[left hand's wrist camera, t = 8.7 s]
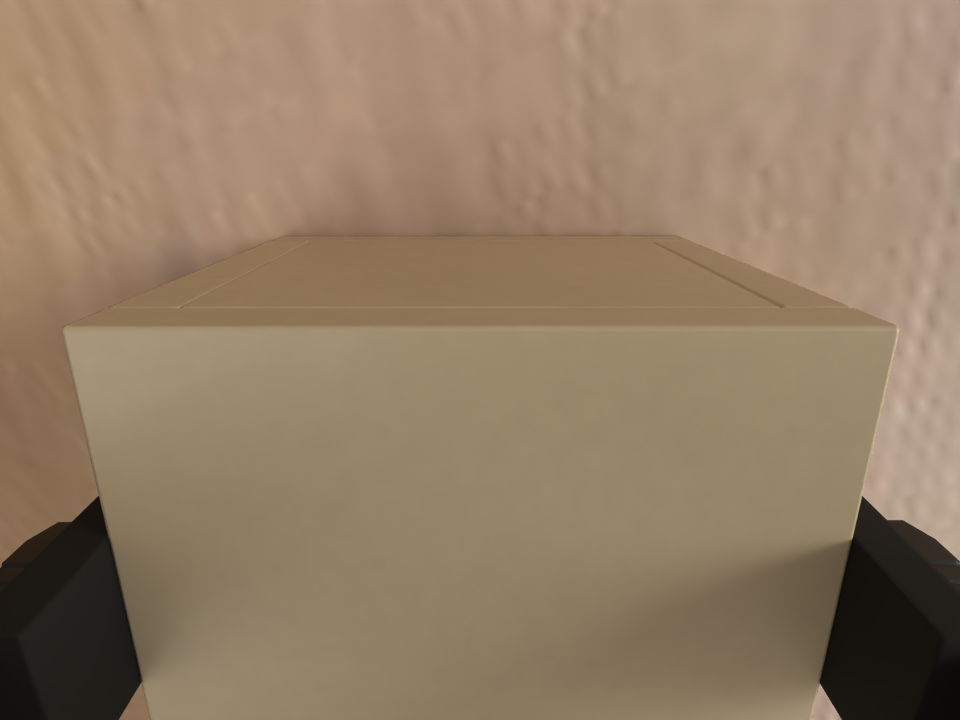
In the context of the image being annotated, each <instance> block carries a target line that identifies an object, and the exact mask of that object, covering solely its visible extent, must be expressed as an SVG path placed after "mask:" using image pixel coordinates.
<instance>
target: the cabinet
mask: <svg viewBox="0 0 960 720" xmlns="http://www.w3.org/2000/svg"><path fill="white" fill-rule="evenodd" d="M62 336H63V340H64V345H65V349H66V353H67V358H68V362H69V367H70V371H71V375H72V380H73V384H74V388H75V393H76V397H77V402H78V406H79V410H80V415H81V419H82V423H83V428H84V432H85V437H86V441H87V445H88V450H89V454H90V458H91V463H92V467H93V472H94V476H95V480H96V485H97V489H98V494H99V498H100V502H101V507H102V511H103V515H104V520H105V524H106V529H107V533H108V537H109V542H110V546H111V550H112V555H113V559H114V564H115V568H116V572H117V577H118V581H119V585H120V590H121V594H122V599H123V603H124V607H125V612H126V616H127V621H128V625H129V629H130V634H131V638H132V642H133V647H134V651H135V656H136V660H137V664H138V669H139V673H140V677H141V682H142V686H143V691H144V695H145V699H146V704H147V708H148V712H149V717H150V720H811V719H812V714H813V710H814V705H815V701H816V697H817V692H818V688H819V683H820V679H821V675H822V670H823V666H824V661H825V657H826V653H827V648H828V644H829V639H830V635H831V631H832V626H833V622H834V617H835V613H836V609H837V604H838V600H839V595H840V591H841V587H842V582H843V578H844V573H845V569H846V565H847V560H848V556H849V551H850V547H851V543H852V538H853V534H854V529H855V525H856V521H857V516H858V512H859V507H860V503H861V499H862V494H863V490H864V485H865V481H866V477H867V472H868V468H869V463H870V459H871V455H872V450H873V446H874V441H875V437H876V433H877V428H878V424H879V419H880V415H881V411H882V406H883V402H884V398H885V393H886V389H887V384H888V380H889V376H890V371H891V367H892V362H893V358H894V354H895V349H896V345H897V340H898V336H899V328H898V326H896V325H893V324H891V323H889V322H886V321H884V320H881V319H879V318H876V317H874V316H872V315H869V314H867V313H864V312H862V311H859V310H857V309H854V308H850V307H849V306H847V305H844V304H842V303H839V302H837V301H834V300H832V299H830V298H827V297H825V296H822V295H820V294H817V293H815V292H813V291H810V290H808V289H805V288H803V287H800V286H798V285H796V284H793V283H791V282H788V281H786V280H783V279H781V278H779V277H776V276H774V275H771V274H769V273H766V272H764V271H762V270H759V269H757V268H754V267H752V266H749V265H747V264H745V263H742V262H740V261H737V260H735V259H732V258H730V257H728V256H725V255H723V254H720V253H718V252H715V251H713V250H711V249H708V248H706V247H703V246H701V245H698V244H696V243H694V242H691V241H689V240H686V239H684V238H681V237H679V236H283V237H280V238H278V239H275V240H273V241H269V242H267V243H264V244H262V245H259V246H257V247H254V248H252V249H249V250H247V251H245V252H242V253H240V254H237V255H235V256H232V257H230V258H227V259H225V260H223V261H220V262H218V263H215V264H213V265H210V266H208V267H205V268H203V269H201V270H198V271H196V272H193V273H191V274H188V275H186V276H183V277H181V278H179V279H176V280H174V281H171V282H169V283H166V284H164V285H161V286H159V287H157V288H154V289H152V290H149V291H147V292H144V293H142V294H139V295H137V296H135V297H132V298H130V299H127V300H125V301H122V302H120V303H117V304H115V305H113V306H110V307H109V308H107V309H105V310H102V311H100V312H98V313H95V314H93V315H90V316H88V317H85V318H83V319H81V320H78V321H76V322H73V323H71V324H68V325H66V326H64V327H63V328H62Z"/></svg>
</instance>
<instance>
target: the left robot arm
mask: <svg viewBox="0 0 960 720" xmlns="http://www.w3.org/2000/svg"><path fill="white" fill-rule="evenodd" d="M140 684H141V677H140V673H139V669H138V664H137V660H136V656H135V651H134V647H133V642H132V638H131V634H130V629H129V625H128V621H127V616H126V612H125V607H124V603H123V599H122V594H121V590H120V585H119V581H118V577H117V572H116V568H115V564H114V559H113V555H112V550H111V546H110V542H109V537H108V533H107V529H106V524H105V520H104V515H103V511H102V507H101V502H100V498H99V496H98V497H97V498H96V499H95V500H94V501H93V502H92V503H91V504H90V505H89V506H88V507H87V508H86V509H85V510H84V511H83V512H82V513H81V514H80V515H79V516H78V517H77V518H75V519H74V520H73V521H72V522H58V523H56V524H55V525H53V526H51V527H50V528H48V529H46V530H44V531H43V532H41V533H39V534H38V535H36V536H34V537H32V538H31V539H29V540H27V541H26V542H25V543H24V544H22V545H21V546H20V547H19V548H18V549H17V550H16V551H15V552H14V553H13V554H12V555H11V556H9V557H8V558H7V559H6V560H5V561H4V562H3V563H2V567H1V568H0V720H119V718H120V717H121V715H122V713H123V712H124V710H125V708H126V707H127V705H128V703H129V702H130V700H131V698H132V697H133V695H134V693H135V692H136V690H137V688H138V687H139V685H140ZM820 684H821V686H822V687H823V689H824V691H825V692H826V694H827V696H828V697H829V699H830V701H831V702H832V704H833V706H834V707H835V709H836V710H837V712H838V714H839V715H840V717H841V719H842V720H960V561H959V560H958V559H956V558H955V557H954V556H953V555H952V554H951V553H950V552H949V551H948V550H947V549H946V548H944V547H943V546H942V545H941V544H940V543H939V542H938V541H937V540H936V539H934V538H932V537H931V536H929V535H927V534H926V533H924V532H922V531H920V530H919V529H917V528H915V527H913V526H912V525H910V524H908V523H907V522H905V521H903V520H886V519H885V518H884V517H883V516H882V515H881V514H880V513H879V512H878V511H877V510H876V509H875V508H874V507H873V506H872V505H871V504H870V503H869V502H868V501H867V500H866V499H865V498H864V497H863V496H862V499H861V503H860V507H859V512H858V516H857V521H856V525H855V529H854V534H853V538H852V543H851V547H850V551H849V556H848V560H847V565H846V569H845V573H844V578H843V582H842V587H841V591H840V595H839V600H838V604H837V609H836V613H835V617H834V622H833V626H832V631H831V635H830V639H829V644H828V648H827V653H826V657H825V661H824V666H823V670H822V675H821V679H820Z"/></svg>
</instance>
